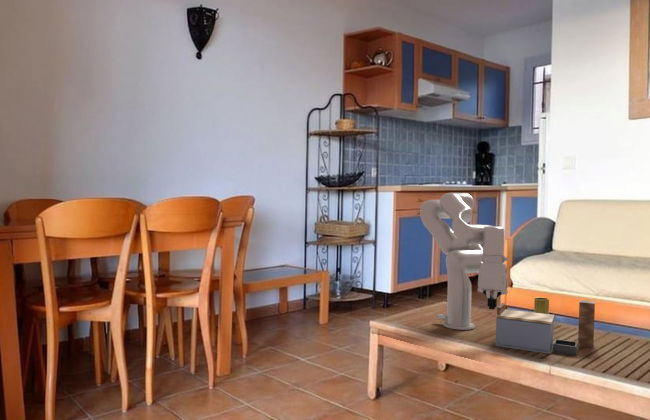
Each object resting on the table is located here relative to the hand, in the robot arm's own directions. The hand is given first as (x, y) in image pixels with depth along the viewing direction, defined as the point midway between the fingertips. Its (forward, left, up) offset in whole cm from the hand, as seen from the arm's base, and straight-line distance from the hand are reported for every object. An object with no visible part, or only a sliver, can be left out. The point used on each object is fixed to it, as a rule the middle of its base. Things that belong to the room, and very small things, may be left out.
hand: (492, 308), depth 193 cm
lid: (+12, 0, -2) cm, 12 cm away
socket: (+25, 0, -12) cm, 28 cm away
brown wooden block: (+31, +13, -12) cm, 36 cm away
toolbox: (+12, 0, -12) cm, 17 cm away
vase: (+15, +20, -12) cm, 28 cm away
